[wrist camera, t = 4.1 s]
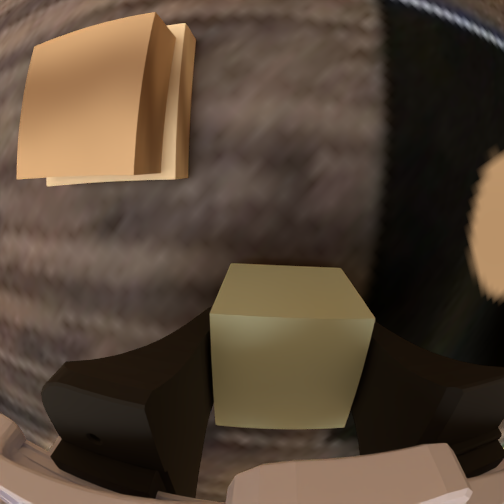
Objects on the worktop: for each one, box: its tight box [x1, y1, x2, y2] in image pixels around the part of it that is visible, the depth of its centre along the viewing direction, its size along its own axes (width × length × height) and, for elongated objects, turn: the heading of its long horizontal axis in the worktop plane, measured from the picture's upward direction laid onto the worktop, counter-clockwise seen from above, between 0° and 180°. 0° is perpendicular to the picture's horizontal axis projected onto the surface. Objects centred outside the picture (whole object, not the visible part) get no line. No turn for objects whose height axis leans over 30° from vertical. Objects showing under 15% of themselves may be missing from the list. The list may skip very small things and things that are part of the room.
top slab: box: [17, 12, 176, 179], centre depth 9 cm, size 6×6×2 cm
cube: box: [210, 263, 375, 429], centre depth 10 cm, size 4×4×4 cm
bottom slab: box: [47, 23, 196, 186], centre depth 12 cm, size 7×7×2 cm
